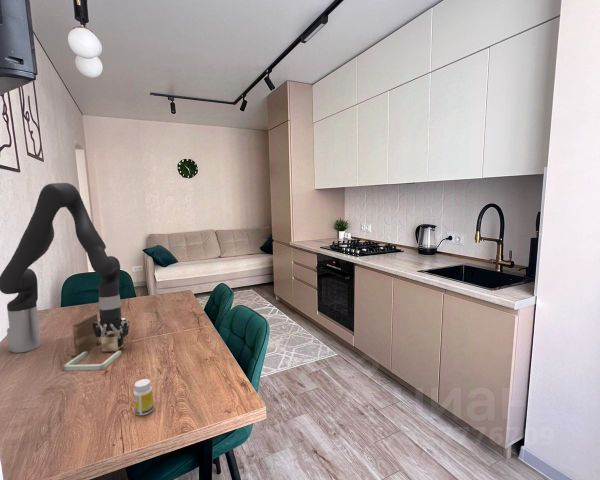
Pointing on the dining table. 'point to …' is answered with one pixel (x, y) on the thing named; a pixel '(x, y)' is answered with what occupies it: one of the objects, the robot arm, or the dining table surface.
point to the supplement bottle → (143, 397)
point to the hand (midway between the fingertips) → (112, 346)
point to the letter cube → (110, 342)
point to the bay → (102, 366)
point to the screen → (85, 335)
